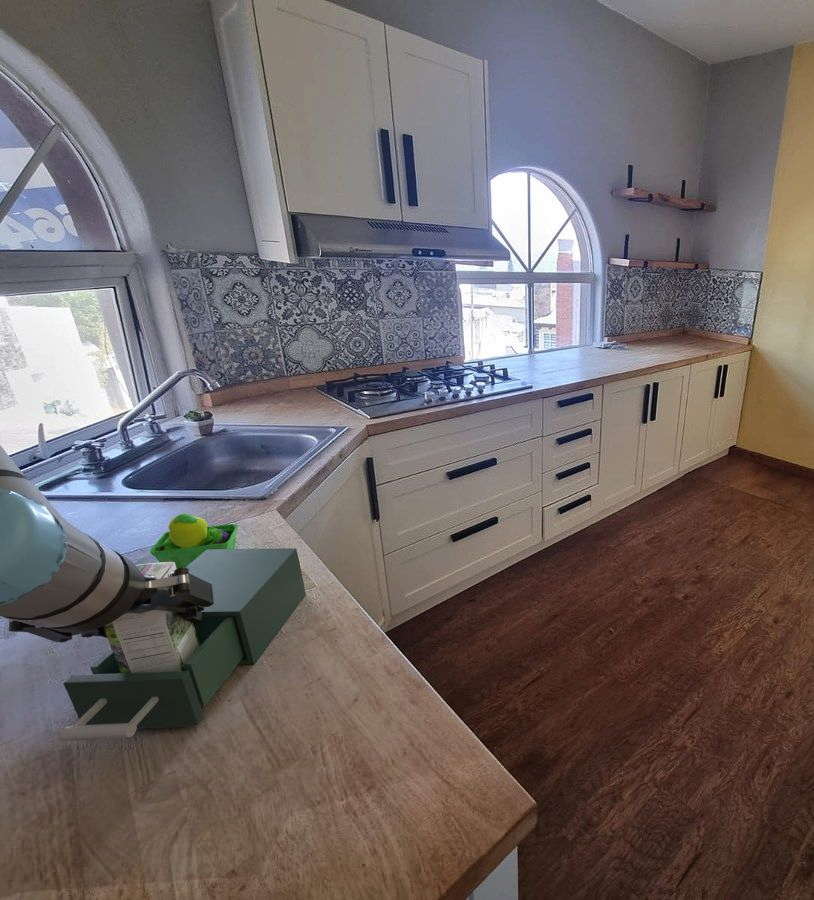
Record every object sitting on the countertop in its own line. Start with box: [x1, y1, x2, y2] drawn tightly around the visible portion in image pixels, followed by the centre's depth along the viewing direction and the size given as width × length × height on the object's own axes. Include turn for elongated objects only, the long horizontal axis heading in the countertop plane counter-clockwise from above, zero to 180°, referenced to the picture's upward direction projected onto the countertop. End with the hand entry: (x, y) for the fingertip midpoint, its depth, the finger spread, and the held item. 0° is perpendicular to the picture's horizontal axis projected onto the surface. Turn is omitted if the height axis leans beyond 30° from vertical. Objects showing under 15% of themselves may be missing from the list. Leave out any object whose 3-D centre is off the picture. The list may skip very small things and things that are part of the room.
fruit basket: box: [149, 513, 239, 569], centre depth 89 cm, size 11×9×11 cm
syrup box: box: [103, 561, 200, 673], centre depth 60 cm, size 6×6×14 cm
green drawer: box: [59, 616, 245, 742], centre depth 62 cm, size 19×12×7 cm, turn 5°
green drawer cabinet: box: [186, 547, 307, 666], centre depth 74 cm, size 16×14×9 cm
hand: (163, 621), depth 64 cm, fingers closed on syrup box, 6 cm apart
